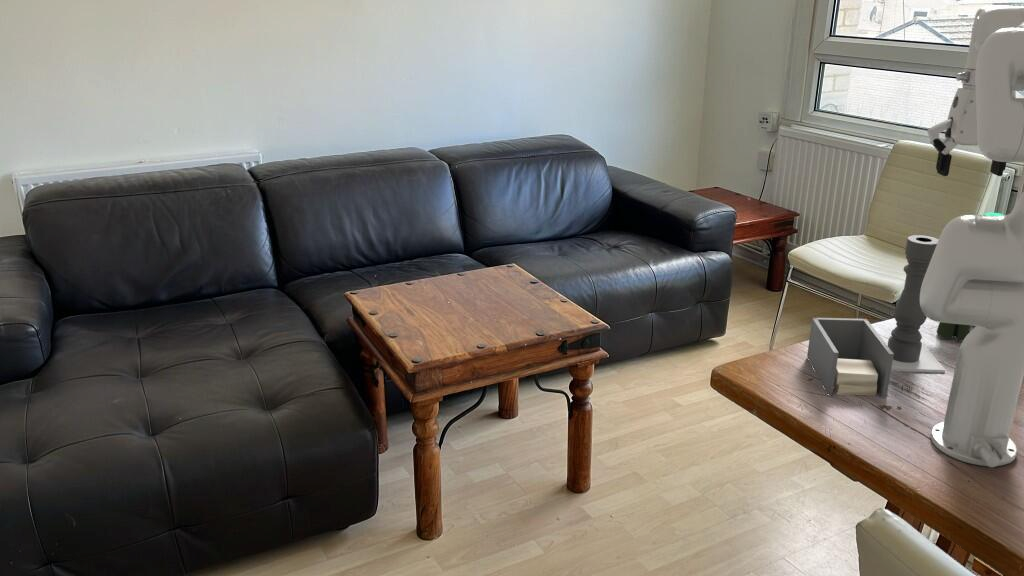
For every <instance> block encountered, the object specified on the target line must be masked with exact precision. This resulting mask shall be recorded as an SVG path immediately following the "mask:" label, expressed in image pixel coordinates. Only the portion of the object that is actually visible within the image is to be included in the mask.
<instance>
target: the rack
mask: <svg viewBox="0 0 1024 576" xmlns="http://www.w3.org/2000/svg"><path fill="white" fill-rule="evenodd" d="M810 325H811V326H810V332H809V341H808V348H807V356H806V358H807V357H808V359H809V360H808V359H807V360H808V362H809V361H810V362H811V364H812V366H813V368H814V370H815V371H814V370H813V371H814V373H815V372H816V373H815V375H816V374H817V375H818V377H819V379H820V381H821V382H820V381H819V382H820V384H821V383H822V384H821V386H822V385H823V386H824V388H825V390H826V391H825V390H824V391H825V393H826V392H827V393H826V395H827V394H829V395H832V396H833V391H834V388H833V387H834V380H835V373H836V366H837V360H838V358H839V359H855V360H871V362H872V364H873V366H874V368H875V370H876V372H877V374H878V379H877V391H876V392H878V394H879V395H880V396H881V398H887V396H888V390H889V384H890V379H891V372H892V371H891V368H892V362H893V357H894V354H893V352H892V351H891V350H890V348H889V347H888V346H887V345H886V343H887V342H885V341H884V340H883V338H882V337H881V336H880V334H879V333H878V331H876V329H875V327H874V326H873V325H872V324H871V323H870V321H869V320H868V319H867V318H843V317H841V318H840V317H836V318H835V317H812V319H811V324H810ZM810 362H809V363H810ZM811 364H810V365H811ZM812 366H811V367H812ZM813 368H812V369H813ZM817 375H816V376H817ZM818 377H817V378H818ZM819 379H818V380H819ZM823 386H822V387H823ZM824 388H823V389H824Z"/></svg>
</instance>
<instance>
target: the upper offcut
mask: <svg viewBox="0 0 1024 576" xmlns="http://www.w3.org/2000/svg"><path fill="white" fill-rule="evenodd" d="M877 379H878V374H877V372H876V370H875V368H874V366H873V364H872V362H871V360H855V359H839V358H838V360H837V366H836V373H835V382H836V384H840V385H853V386H868V387H876V385H877Z"/></svg>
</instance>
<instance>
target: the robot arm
mask: <svg viewBox="0 0 1024 576" xmlns="http://www.w3.org/2000/svg"><path fill="white" fill-rule="evenodd" d="M970 34H971V35H970V42H969V46H968V47H969V48H968V53H967V57H966V62H965V68H964V69H963V71H962V72H958V73H957V74H956V77H955V80H956V81H959V82H961V85H960V86H958V87H957V90H956V92H955V94H954V96H953V100H952V103H951V106H950V107H949V108H950V109H949V112H948V116H947V120H944V121H941V122H939V123H937V124H935V125H933V126H930V127H929V128H928V129H927V130H926V132H927V135H928V137H929V141H930V144H932V146H933V148H934V149H936V152H938V153H937V158H936V159H937V160H936V166H935V169H936V173H937V174H939V175H940V176H942V177H948V176H949V173H950V168H951V162H952V154H950V153H951V151H953V150H954V148H956V147H957V146H958V145H960V146H978V148H979V150H980V152H981V153H982V155H983V156H984V157H985V158H987V159H989V160H991V166H990V171H989V172H990V173H991V174H993V175H994V176H995V175H996V176H997V177H1003V174H1004V171H1005V169H1006V167H1007V163H1024V97H1023V98H1022V97H1016V93H1017V92H1024V6H1023V5H1021V6H1020V5H1019V6H1018V5H1015V6H1014V5H987V6H982V7H981V8H979V9H978V10H977V11H976V13H975V16H974V20H973V24H972V28H971V33H970ZM942 132H944V139H943V141H942V140H941V139H940V133H942ZM1003 215H1004V216H992V215H984V214H963V215H959V216H956V217H954V218H952V219H951V220H950V221H949V222H947V224H946V225H945V226H944V228H943V229H942V232H941V234H940V236H939V238H938V239H939V240H938V243H937V246H936V248H935V251H934V253H933V256H932V258H931V261H930V264H929V266H928V269H927V271H926V274H925V277H924V279H923V282H922V286H921V290H920V306H921V309H922V311H923V313H924V314H925V316H926V317H927V319H929V320H931V321H933V322H937V323H940V322H942V323H950V324H963V325H975V326H976V327H975V326H974V328H972V329H971V330H970V332H969V334H968V335H967V336H966V337H965V338H964V340H963V341H961V343H960V346H959V349H958V354H957V359H956V362H955V368H954V371H953V376H952V381H951V388H950V391H949V396H948V401H947V404H946V405H947V406H946V411H945V415H944V420H943V422H940V423H937V424H935V425H934V426H933V427H932V429H931V432H930V440H931V442H932V444H933V445H934V446H935V447H936V448H937V449H938V450H939V451H941V452H943V453H944V454H945V455H948V456H949V457H951V458H953V459H956V460H957V461H958V460H959V461H961V462H965V463H968V464H971V465H977V466H983V467H989V468H995V467H1001V466H1004V465H1008V464H1011V463H1012V462H1013V461H1014V460H1016V457H1017V454H1018V453H1017V452H1018V448H1017V446H1016V444H1015V443H1014V441H1013V440H1012V439H1011V438H1010V433H1011V430H1012V427H1013V421H1014V417H1015V413H1016V408H1017V404H1018V400H1019V396H1020V392H1021V389H1022V386H1023V381H1024V190H1023V191H1022V193H1020V194H1019V196H1018V197H1017V200H1016V202H1015V205H1014V207H1013V209H1012V210H1011V212H1010V213H1009V214H1003Z"/></svg>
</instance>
